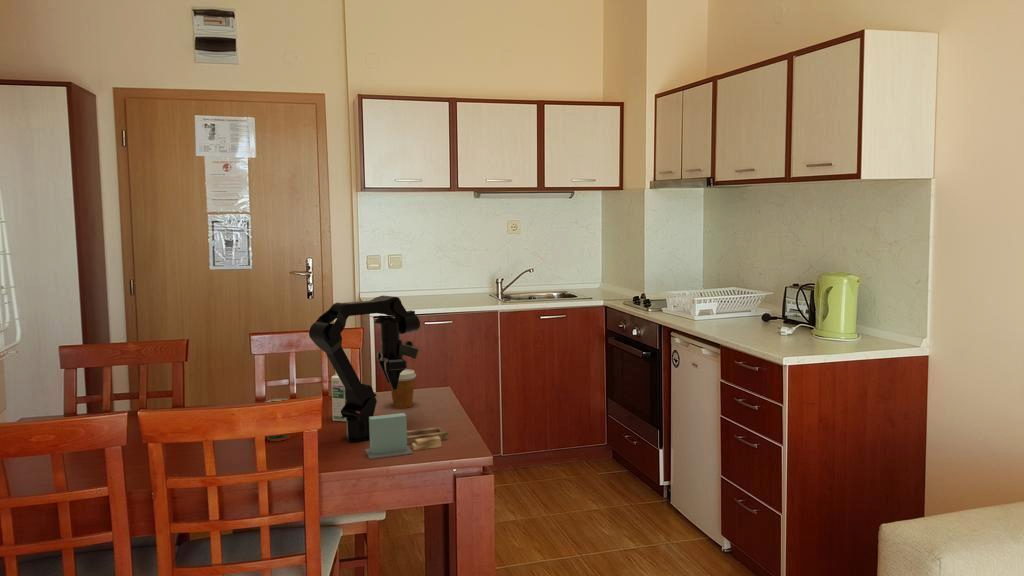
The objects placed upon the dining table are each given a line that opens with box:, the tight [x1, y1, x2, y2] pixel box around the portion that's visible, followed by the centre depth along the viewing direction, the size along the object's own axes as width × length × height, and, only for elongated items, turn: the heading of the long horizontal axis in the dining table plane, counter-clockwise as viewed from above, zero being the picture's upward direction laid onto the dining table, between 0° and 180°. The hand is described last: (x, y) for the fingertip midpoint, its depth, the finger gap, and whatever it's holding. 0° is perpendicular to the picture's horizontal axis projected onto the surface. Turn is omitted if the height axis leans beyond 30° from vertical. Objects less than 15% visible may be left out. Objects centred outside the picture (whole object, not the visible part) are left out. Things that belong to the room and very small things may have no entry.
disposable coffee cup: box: [389, 368, 417, 409], centre depth 264 cm, size 10×10×12 cm
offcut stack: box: [411, 436, 442, 451], centre depth 221 cm, size 8×3×2 cm, turn 110°
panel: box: [369, 412, 408, 455], centre depth 216 cm, size 10×3×10 cm, turn 110°
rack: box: [407, 426, 449, 445], centre depth 228 cm, size 15×7×2 cm, turn 110°
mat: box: [364, 444, 414, 460], centre depth 217 cm, size 12×8×1 cm, turn 110°
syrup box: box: [330, 373, 347, 422], centre depth 249 cm, size 6×6×14 cm
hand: (392, 385), depth 239 cm, fingers open, 9 cm apart
